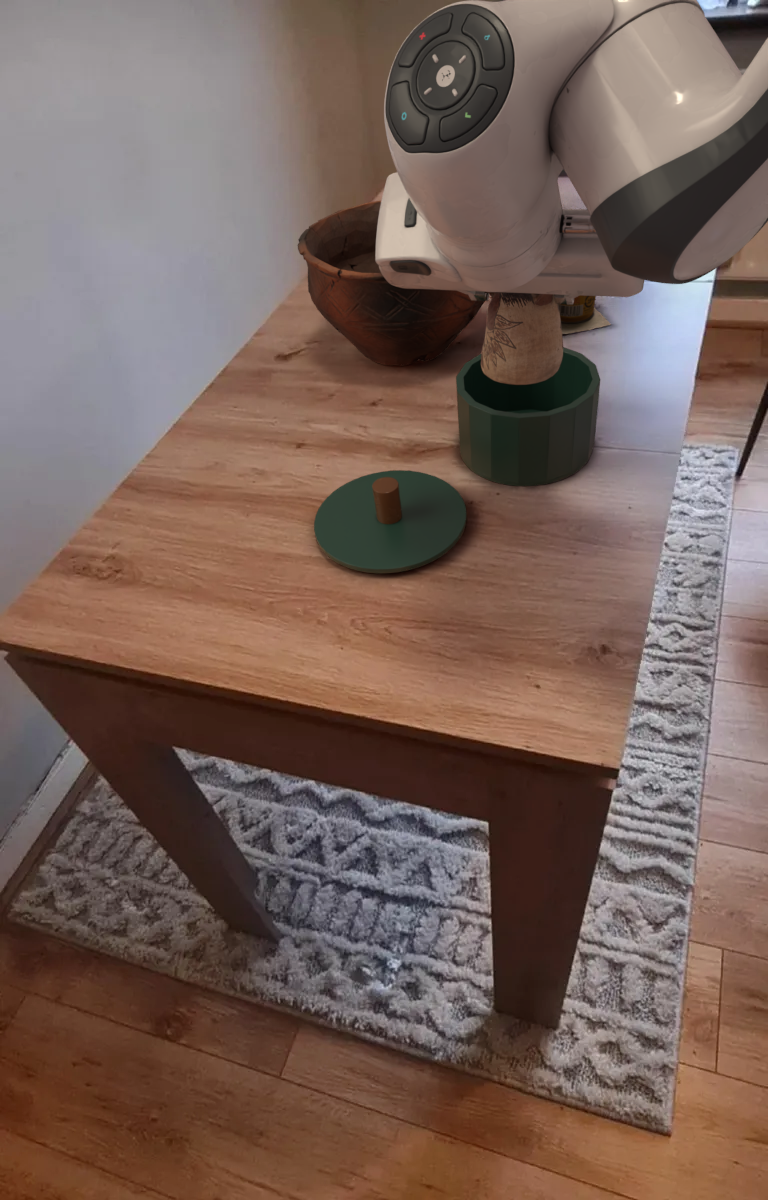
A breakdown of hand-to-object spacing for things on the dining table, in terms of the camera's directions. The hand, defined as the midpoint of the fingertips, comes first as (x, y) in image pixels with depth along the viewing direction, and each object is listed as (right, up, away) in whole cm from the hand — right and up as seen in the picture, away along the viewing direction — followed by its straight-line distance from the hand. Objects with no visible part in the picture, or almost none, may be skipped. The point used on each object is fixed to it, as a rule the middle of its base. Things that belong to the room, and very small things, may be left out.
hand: (522, 293), depth 68 cm
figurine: (+1, -5, +4) cm, 7 cm away
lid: (-11, -18, +13) cm, 25 cm away
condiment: (+14, +12, +40) cm, 44 cm away
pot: (+4, -9, +21) cm, 23 cm away
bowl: (-9, +9, +41) cm, 42 cm away
